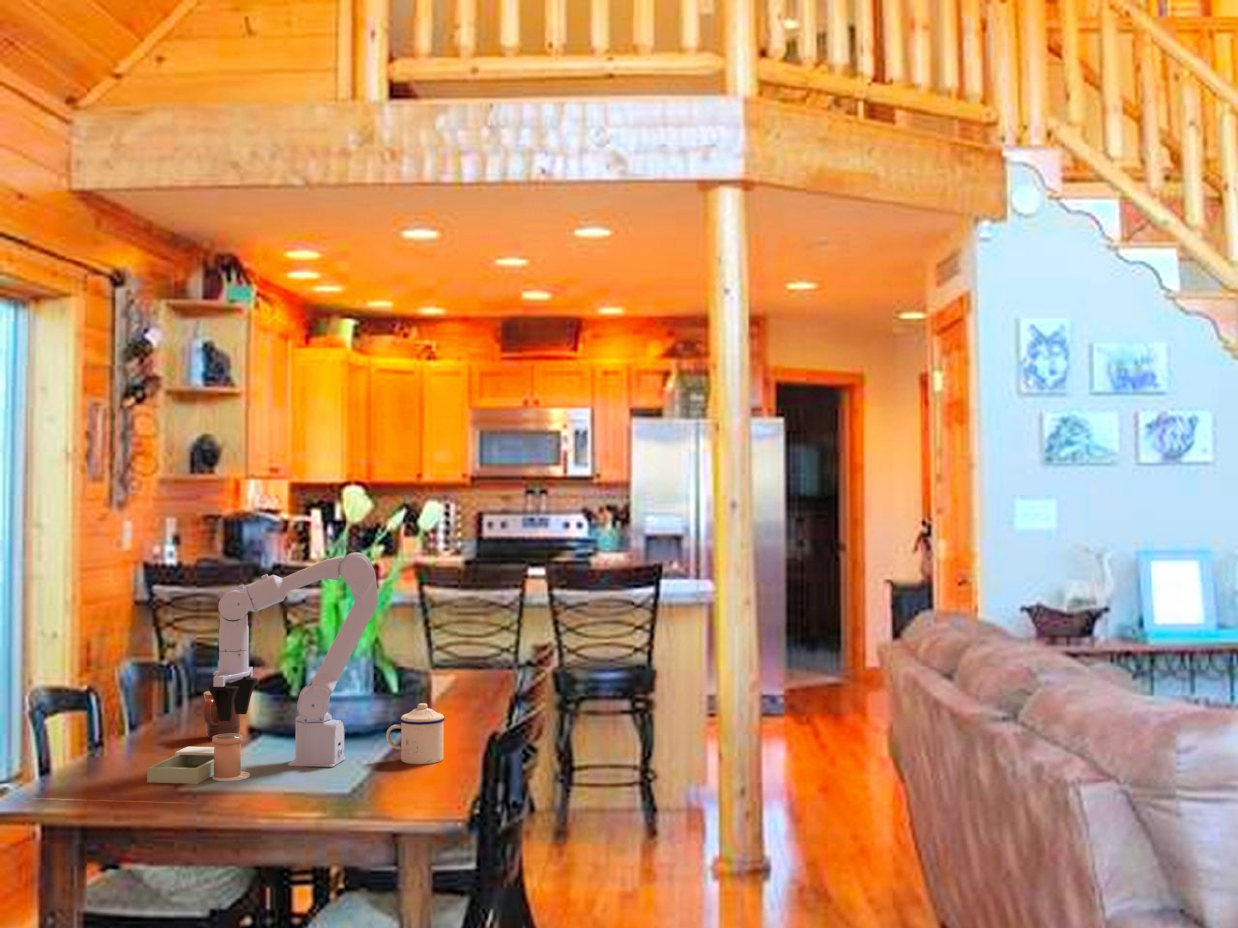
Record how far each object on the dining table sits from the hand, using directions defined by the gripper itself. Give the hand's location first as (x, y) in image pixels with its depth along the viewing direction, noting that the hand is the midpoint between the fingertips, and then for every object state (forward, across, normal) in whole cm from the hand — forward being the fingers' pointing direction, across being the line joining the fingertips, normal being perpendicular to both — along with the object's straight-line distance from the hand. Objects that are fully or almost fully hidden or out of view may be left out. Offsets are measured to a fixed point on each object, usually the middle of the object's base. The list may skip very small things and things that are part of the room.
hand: (233, 717), depth 250 cm
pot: (+9, +10, +3) cm, 14 cm away
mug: (+10, -27, -15) cm, 32 cm away
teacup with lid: (+10, -10, +35) cm, 38 cm away
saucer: (+10, +10, +4) cm, 15 cm away
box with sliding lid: (+10, +8, -5) cm, 14 cm away
